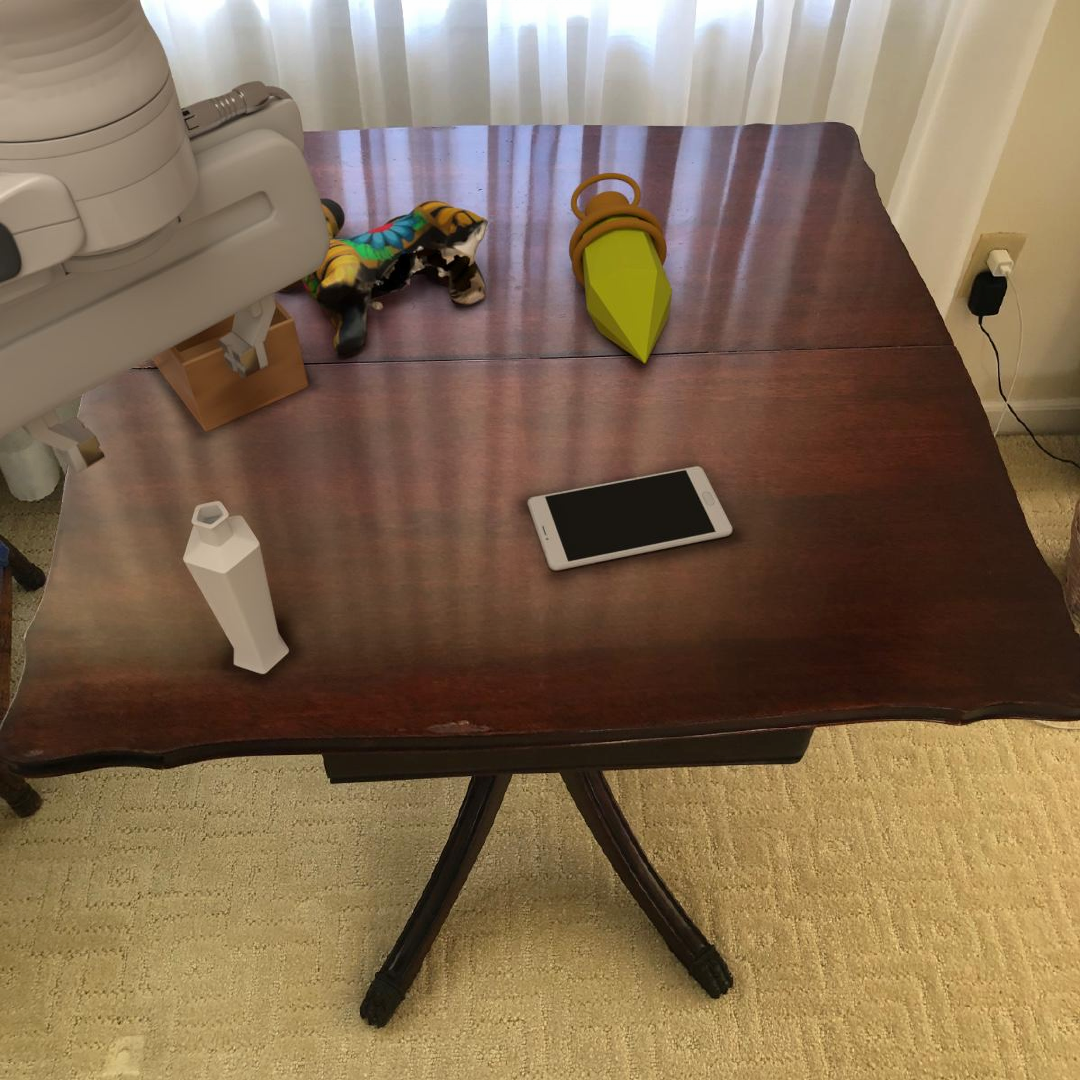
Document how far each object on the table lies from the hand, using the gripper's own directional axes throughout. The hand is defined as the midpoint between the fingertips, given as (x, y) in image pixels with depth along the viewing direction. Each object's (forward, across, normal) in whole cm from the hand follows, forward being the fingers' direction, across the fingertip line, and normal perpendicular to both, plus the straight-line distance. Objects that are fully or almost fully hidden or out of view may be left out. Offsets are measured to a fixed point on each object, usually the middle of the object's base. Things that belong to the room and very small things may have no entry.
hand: (169, 411), depth 50 cm
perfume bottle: (+26, -1, -2) cm, 26 cm away
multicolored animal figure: (+26, -32, -28) cm, 50 cm away
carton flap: (+15, -11, -29) cm, 34 cm away
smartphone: (+25, -29, +8) cm, 39 cm away
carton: (+25, -16, -28) cm, 41 cm away
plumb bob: (+26, -49, -10) cm, 56 cm away
